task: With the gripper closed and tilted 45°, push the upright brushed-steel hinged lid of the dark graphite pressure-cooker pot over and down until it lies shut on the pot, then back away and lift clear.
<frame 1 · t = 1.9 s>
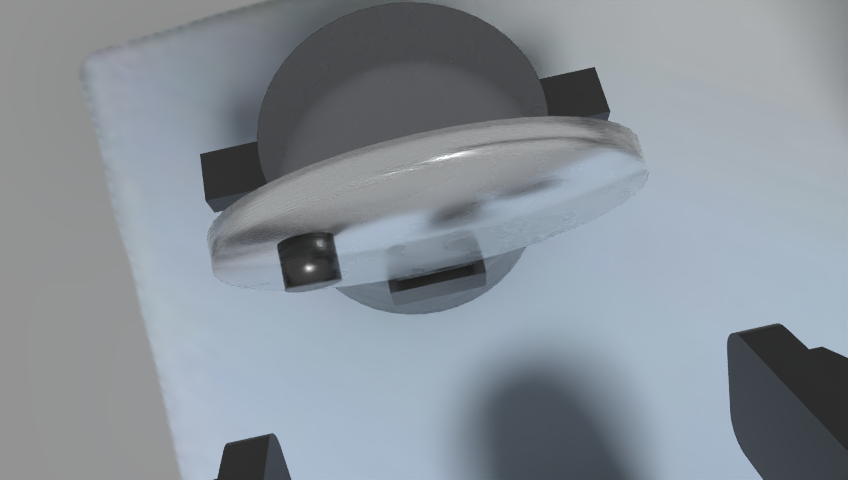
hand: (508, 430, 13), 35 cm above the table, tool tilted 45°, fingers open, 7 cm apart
cooker lid: (433, 239, 32), point 19 cm above the table, hinge at 100.0°
cooker pot: (415, 198, 53), on the table
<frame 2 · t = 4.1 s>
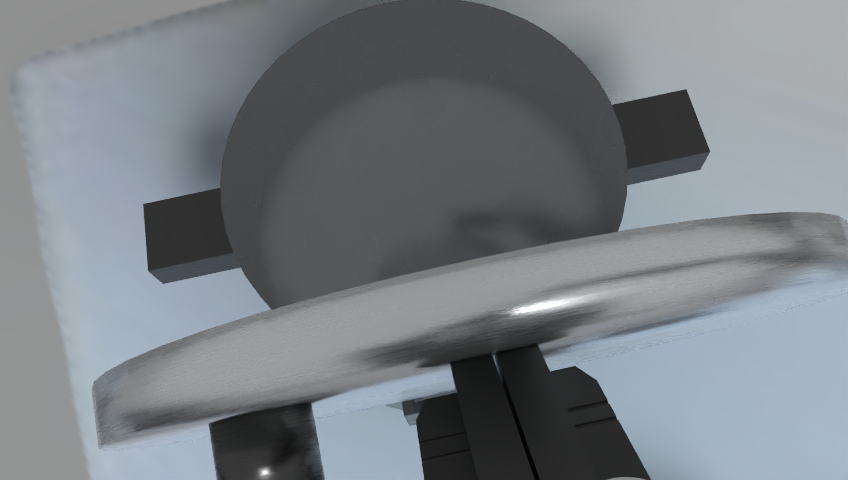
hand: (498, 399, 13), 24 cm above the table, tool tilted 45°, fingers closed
cooker lid: (479, 381, 19), point 19 cm above the table, hinge at 99.4°, touching gripper
cooker pot: (434, 254, 41), on the table
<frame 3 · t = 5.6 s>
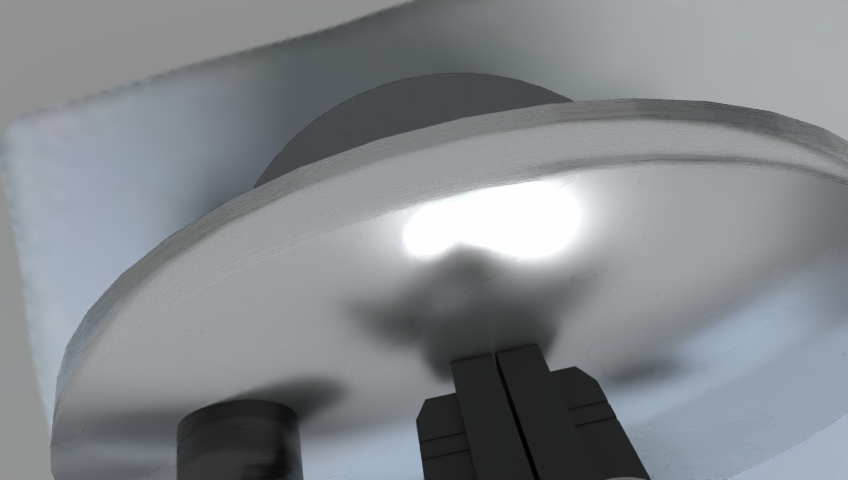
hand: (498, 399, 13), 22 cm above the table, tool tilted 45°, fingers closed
cooker lid: (507, 456, 17), point 19 cm above the table, hinge at 77.4°, touching gripper
cooker pot: (460, 343, 37), on the table
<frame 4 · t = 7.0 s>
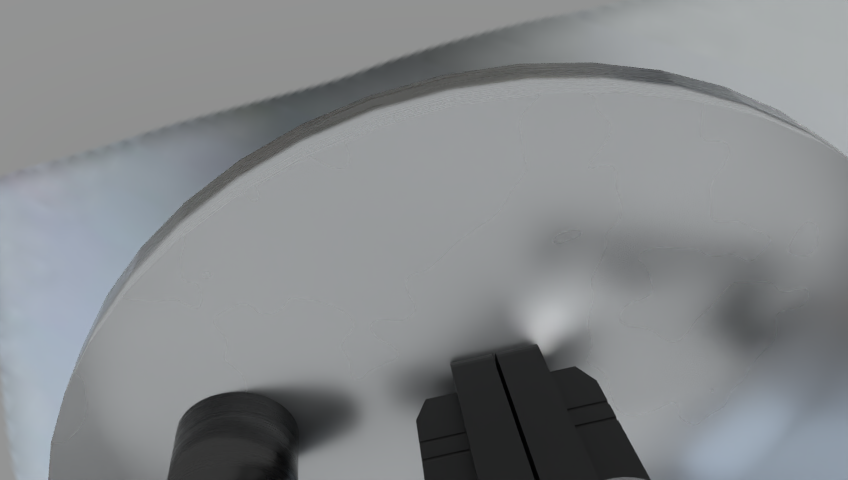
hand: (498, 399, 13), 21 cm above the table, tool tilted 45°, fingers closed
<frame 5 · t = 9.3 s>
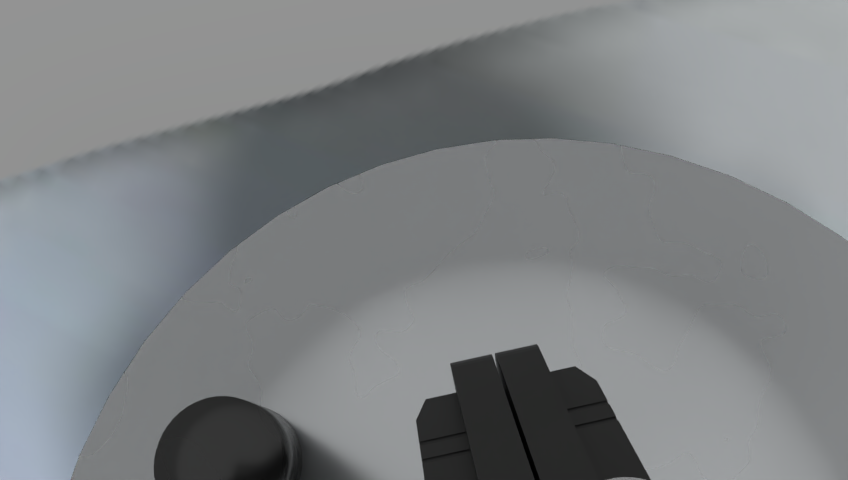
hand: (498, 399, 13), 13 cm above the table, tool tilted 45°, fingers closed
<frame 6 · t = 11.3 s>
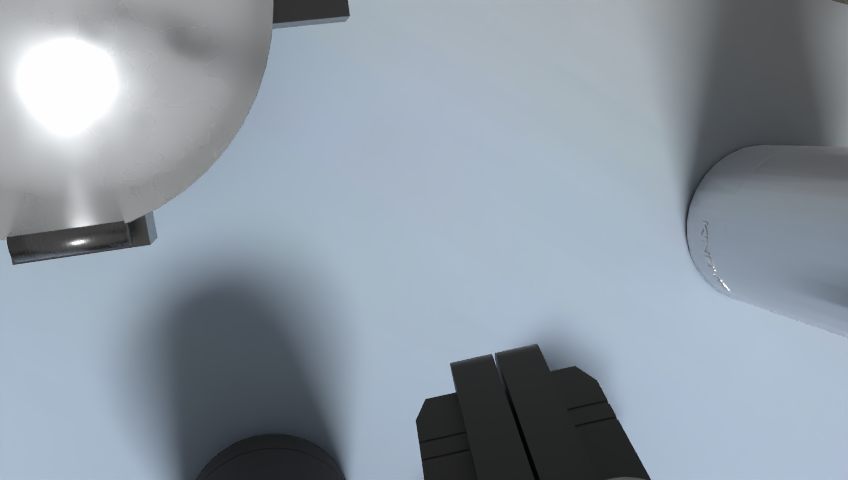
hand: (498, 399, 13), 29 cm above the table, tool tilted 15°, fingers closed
cooker lid: (15, 3, 27), point 12 cm above the table, hinge at 5.1°
cooker pot: (87, 33, 38), on the table
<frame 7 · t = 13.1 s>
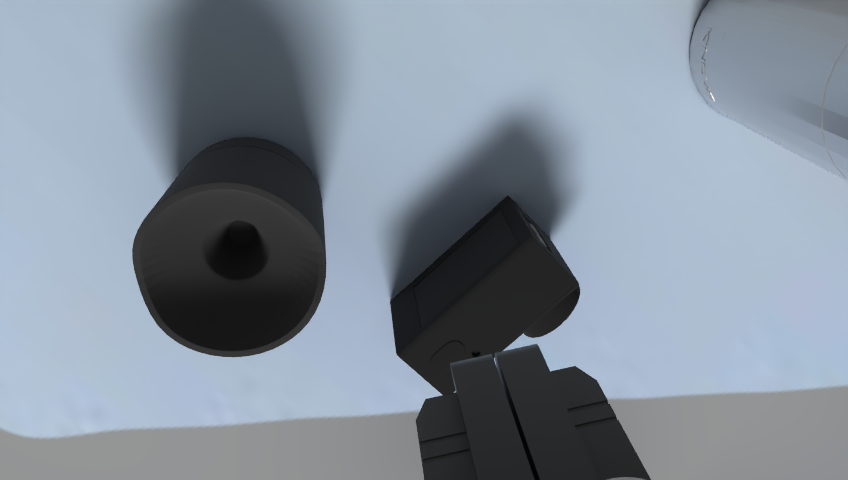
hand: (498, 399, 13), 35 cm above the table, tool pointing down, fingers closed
digital camera: (475, 275, 52), on the table
pen holder: (250, 203, 48), on the table
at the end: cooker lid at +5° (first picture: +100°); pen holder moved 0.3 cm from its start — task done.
